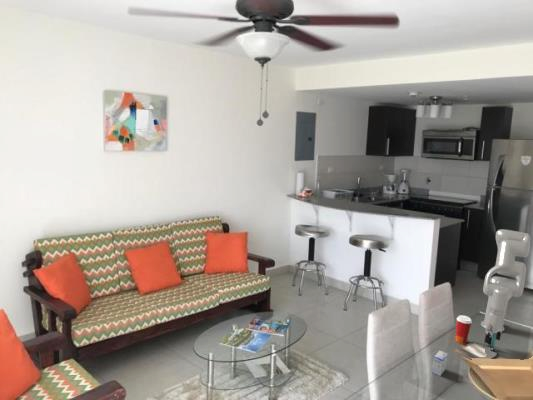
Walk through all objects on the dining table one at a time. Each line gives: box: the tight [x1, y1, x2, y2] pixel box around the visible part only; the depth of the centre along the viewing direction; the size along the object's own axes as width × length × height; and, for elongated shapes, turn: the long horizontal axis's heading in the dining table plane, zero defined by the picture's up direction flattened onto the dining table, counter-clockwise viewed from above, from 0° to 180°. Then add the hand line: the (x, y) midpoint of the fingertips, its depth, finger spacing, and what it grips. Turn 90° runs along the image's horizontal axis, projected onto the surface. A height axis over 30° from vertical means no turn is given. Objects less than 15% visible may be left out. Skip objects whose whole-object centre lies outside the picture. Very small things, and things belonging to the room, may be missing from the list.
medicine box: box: [430, 350, 449, 377], centre depth 209 cm, size 8×4×9 cm, turn 141°
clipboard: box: [454, 341, 491, 359], centre depth 229 cm, size 18×14×2 cm
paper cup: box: [454, 315, 473, 345], centre depth 240 cm, size 8×8×14 cm
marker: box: [487, 333, 497, 349], centre depth 234 cm, size 3×3×12 cm
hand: (492, 341), depth 234 cm, fingers open, 9 cm apart
